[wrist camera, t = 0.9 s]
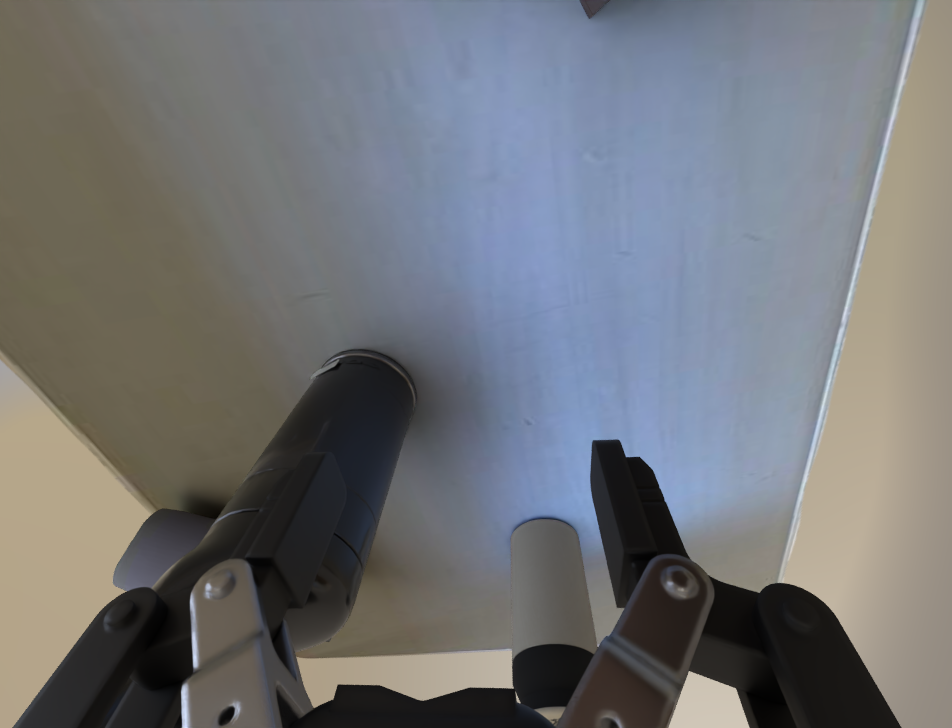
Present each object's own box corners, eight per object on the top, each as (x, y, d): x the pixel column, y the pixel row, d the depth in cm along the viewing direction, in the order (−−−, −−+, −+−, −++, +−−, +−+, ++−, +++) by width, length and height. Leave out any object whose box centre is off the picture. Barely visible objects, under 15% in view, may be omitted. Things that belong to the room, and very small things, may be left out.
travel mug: (497, 542, 50) (494, 733, 35) (537, 507, 46) (554, 703, 31) (550, 566, 52) (569, 757, 37) (592, 534, 48) (633, 732, 33)
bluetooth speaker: (174, 528, 52) (110, 609, 44) (176, 482, 48) (105, 563, 39) (348, 578, 56) (320, 662, 47) (365, 540, 51) (338, 625, 43)
